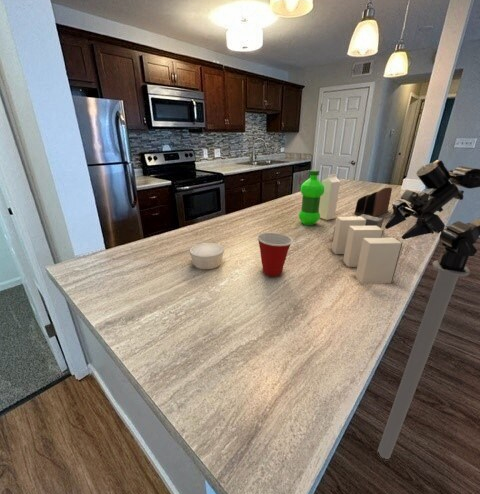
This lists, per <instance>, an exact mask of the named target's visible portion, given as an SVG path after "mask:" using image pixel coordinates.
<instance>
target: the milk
mask: <svg viewBox="0 0 480 494" xmlns="http://www.w3.org/2000/svg"><path fill="white" fill-rule="evenodd" d="M321 183H322V184H323V185H324V193H323V195H321V196H320V204H319V214H320V219H323V220H324V221H325V220H326V221H329V220H333V219H335V218H336V211H337V204H338V199H339V191H340V185H341V180H340V179H338V177H337V173H331V174H327V178H325V179H323V180H322V181H321Z"/></svg>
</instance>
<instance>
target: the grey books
mask: <svg viewBox="0 0 480 494" xmlns="http://www.w3.org/2000/svg"><path fill="white" fill-rule="evenodd" d="M357 217H363V218H365V219H366V220H367V222H366V226H378V227H380V228H381V229H382V228H383V223H384V218H382V217H379V216H376V217H374V216H369V215H365V214H362V215H357ZM334 231H335V226H334V228H333V235H332V238H333V237H334ZM332 242H333V239H332Z"/></svg>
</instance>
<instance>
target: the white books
mask: <svg viewBox="0 0 480 494" xmlns="http://www.w3.org/2000/svg"><path fill="white" fill-rule="evenodd" d="M335 218H336V219H335V223H334V224H335V225H334V227H335V231H334V230H333V233H334V237H333V236H332V240H333V241H332V245H331V251H332V252H333V253H334V254H335V255H344V254H345V248H346V242H347V236H348V231H349V226H366V222H367V220H366V219H365V218H363V217H358V216H336V217H335ZM402 247H403V242H401V240H399V239H397V238H395V237H382V238H363V242H362V247H361V252H360V257H359V262H358V267H356V272H355V278H356V279H357V281H358V282H359V283H360V284H361V285H373V284H393V281H394V277H395V273H396V271H397V266H398V261H399V258H400V255H401V252H402Z"/></svg>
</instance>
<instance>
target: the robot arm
mask: <svg viewBox="0 0 480 494" xmlns="http://www.w3.org/2000/svg"><path fill="white" fill-rule="evenodd" d="M416 176H417V177H418V178H419V180H420V181H421V183H422V184H423V185H424V187H425V188H426V189H428V190H430V191H429V192H428V193H427V192H424V191H421V192H416V191H413V190H410V189H407V188H406V189H405V191H403V194H401V196H400V199H396V200H395V201H393V202H392V203H391V207H392V214H391V215H390V217H389V219H388V221H387V222H386V224H385V225H384V228H385V229H386V230H389V229H391V228H393V227H396V226H397V225H399V224H401V223H403V222H405V221H406V220H407V218H410V217H413V218H415V219H416V222H415V223H414V225H412V226H411V227H410V228H409V229H408V230H407V231H405V233H403V235H402V236H401V239H402V240H407V239H412V238H416V237H420V236H423V235H429V234H432V235H433V234H435V233H436V234H438V235H439V240H440V243H441V246H442V247H443V250H442V251H440V253H439V256H438V258H437V260H438V263H439V264H440V266H441V268H442V269H446V270H452V271H458V272H466V271H465V269H464V268H465V267H466V265H467V263H468V260H469V258H470V257H474V256H475V255H476V254H477V253H478V250H477V248H476V246H474V245H475V244H476V243H477V241H478V240H479V238H480V217H478V218H476V219H475V220H472V221H470V222H462V221H460V220H457V221H455V222H453V223H451V224H450V225H445V222H444V221H443V220H442V218H441V217H440V216H439V215H438V214H436V212H439V213H441V212H443V211H444V209H443V207H444V206H446V205H447V204H448V203H449V202H451V201H452V200H454V199H455V200H459V201H463V200H464V193H465V191H464V190H461V189H459V188H458V187H461V188H465V189H476V188H480V168H478V167H472V166H471V167H470V166H465V165H459V166H457V167H455V168H454V169H452V170H448V169H447V168H446V166H445V164H444V162H443V161H442V160H441V159H440V160H439V159H436V160H435V161H433V162H429V163H427V164H425V165H422V166H421V167H420V168H419V169H418V170H417V171H416Z"/></svg>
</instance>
